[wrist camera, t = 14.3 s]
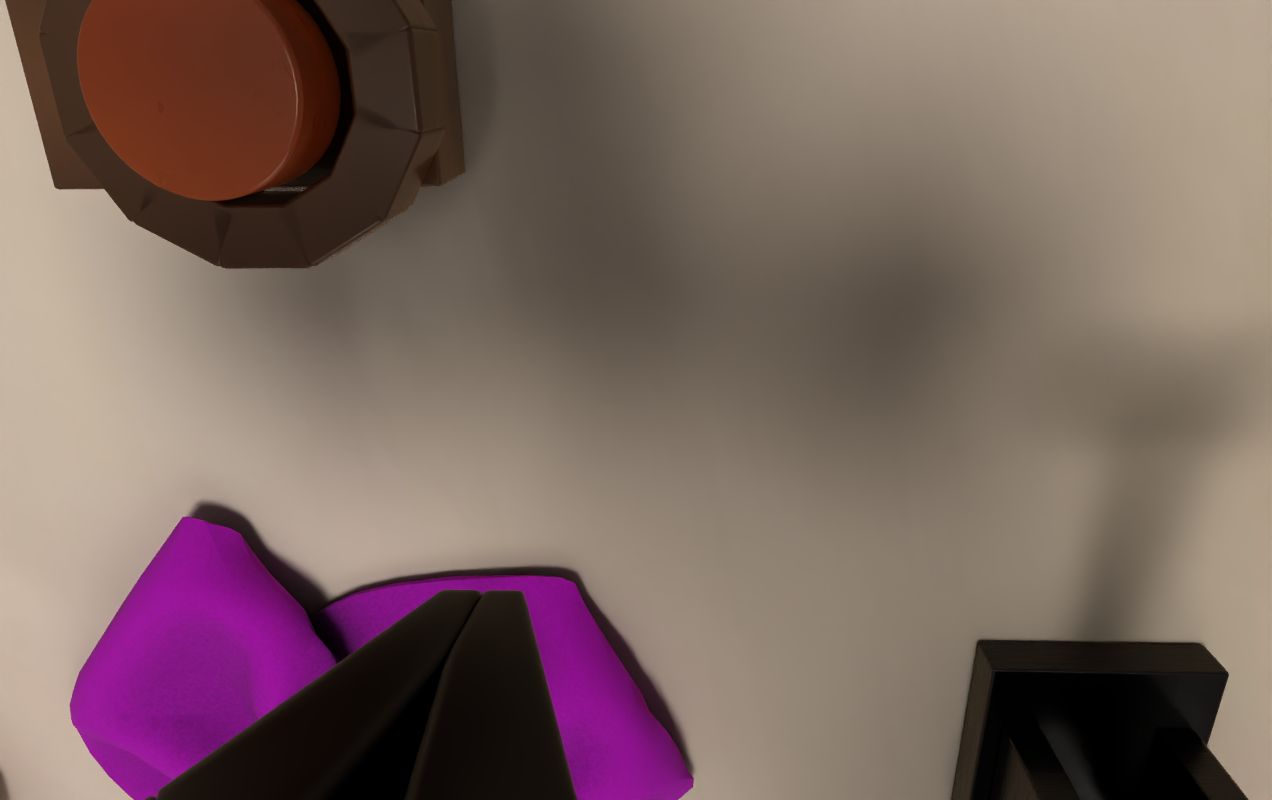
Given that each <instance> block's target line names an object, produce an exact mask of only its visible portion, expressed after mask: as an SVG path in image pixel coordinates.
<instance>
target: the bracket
mask: <svg viewBox="0 0 1272 800" xmlns="http://www.w3.org/2000/svg"><path fill="white" fill-rule="evenodd" d="M1228 676H1229V674H1228V672H1227V671H1226V670H1225V668H1224V667H1223V666H1222V665H1221V664H1220V663H1219V662H1218V661H1217V660H1216V659H1215V658H1214V656H1213V655H1212V654H1211V653H1210V652H1209V651H1208V650H1207V649H1206V648H1205V647H1204V646H1203V645H1178V644H1112V643H1047V642H982V641H981V642H979V643H978V649H977V655H976V661H975V667H974V673H973V679H972V685H971V691H970V696H969V702H968V708H967V714H966V720H965V726H964V732H963V738H962V744H961V750H960V755H959V761H958V767H957V773H956V779H955V785H954V791H953V797H952V800H1248V798H1247V797H1246V796H1245V794H1244V793H1243V792H1242V791H1241V789H1240V788H1239V787H1238V786H1237V784H1236V783H1235V782H1234V780H1233V779H1232V778H1231V777H1230V775H1229V774H1228V773H1227V772H1226V770H1225V769H1224V768H1223V766H1222V765H1221V764H1220V763H1219V761H1218V760H1217V759H1216V757H1215V756H1214V755H1213V754H1212V752H1211V751H1210V750H1209V749H1208V747H1207V744H1208V741H1209V738H1210V734H1211V731H1212V728H1213V725H1214V721H1215V718H1216V715H1217V712H1218V709H1219V705H1220V702H1221V699H1222V696H1223V692H1224V689H1225V686H1226V683H1227V680H1228Z"/></svg>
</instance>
